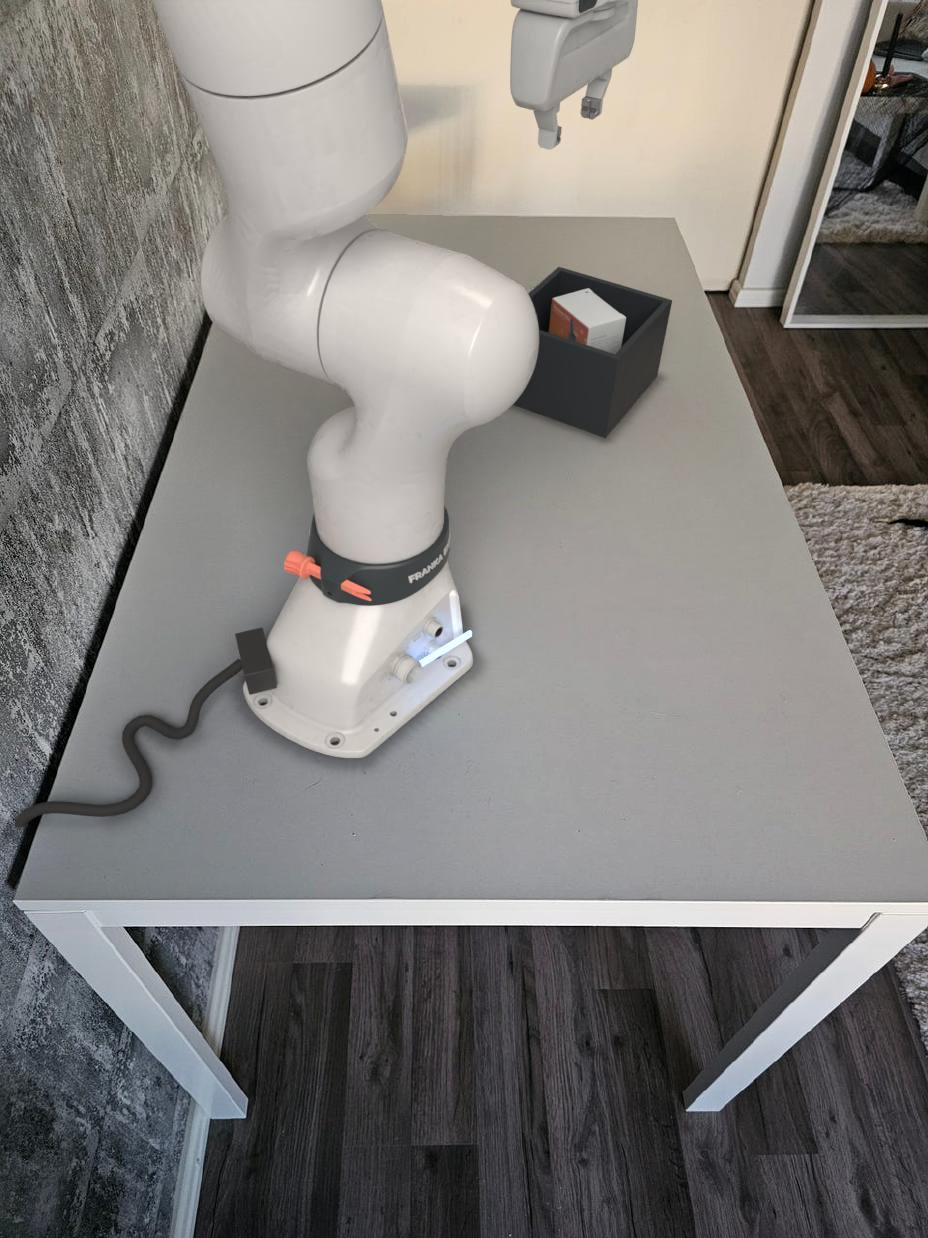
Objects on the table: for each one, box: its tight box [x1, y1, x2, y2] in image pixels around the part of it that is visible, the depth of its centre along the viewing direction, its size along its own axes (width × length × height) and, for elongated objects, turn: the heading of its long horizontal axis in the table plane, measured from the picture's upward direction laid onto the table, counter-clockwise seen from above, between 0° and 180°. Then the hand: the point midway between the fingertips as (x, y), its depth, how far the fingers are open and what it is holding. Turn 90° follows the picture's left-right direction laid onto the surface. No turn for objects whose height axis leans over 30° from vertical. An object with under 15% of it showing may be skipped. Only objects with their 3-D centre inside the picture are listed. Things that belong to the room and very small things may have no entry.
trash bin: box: [512, 266, 673, 439], centre depth 113 cm, size 16×16×11 cm
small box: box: [548, 288, 626, 354], centre depth 112 cm, size 8×6×10 cm
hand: (570, 130), depth 93 cm, fingers open, 8 cm apart
